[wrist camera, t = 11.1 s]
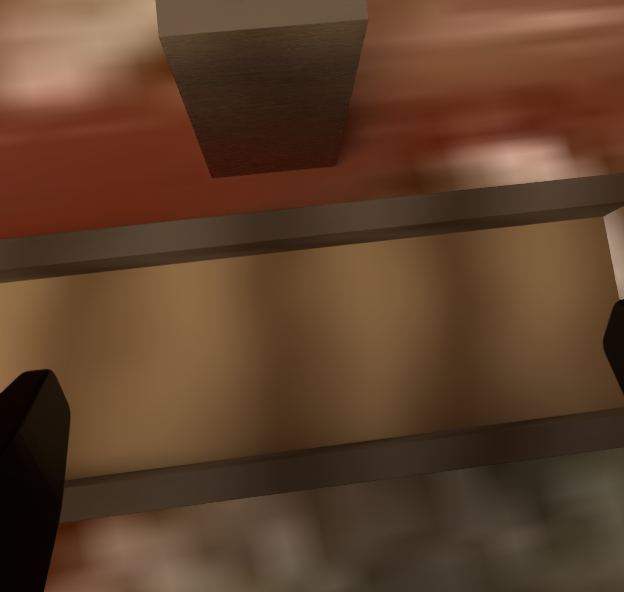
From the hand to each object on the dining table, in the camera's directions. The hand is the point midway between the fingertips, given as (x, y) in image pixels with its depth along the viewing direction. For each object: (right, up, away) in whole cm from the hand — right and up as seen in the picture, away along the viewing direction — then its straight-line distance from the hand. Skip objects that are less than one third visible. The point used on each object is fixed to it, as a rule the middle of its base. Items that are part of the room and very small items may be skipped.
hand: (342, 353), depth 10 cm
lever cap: (-2, +8, +15) cm, 17 cm away
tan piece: (-1, -1, +14) cm, 14 cm away
